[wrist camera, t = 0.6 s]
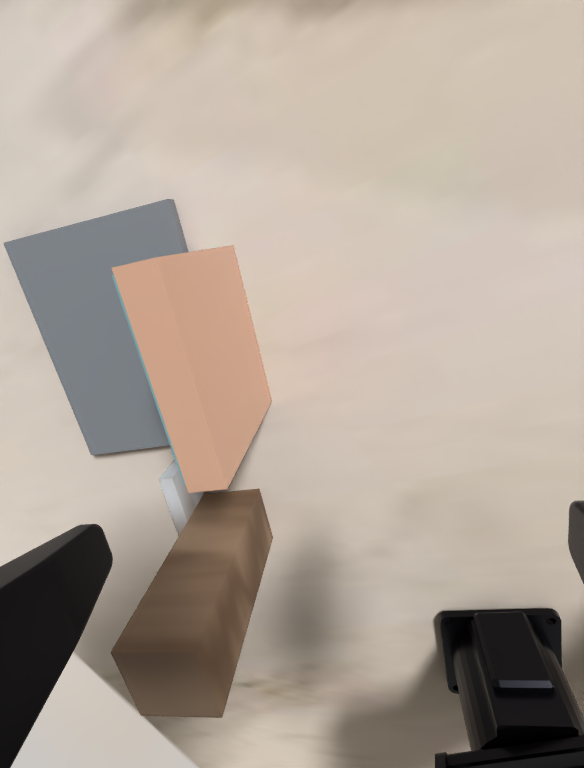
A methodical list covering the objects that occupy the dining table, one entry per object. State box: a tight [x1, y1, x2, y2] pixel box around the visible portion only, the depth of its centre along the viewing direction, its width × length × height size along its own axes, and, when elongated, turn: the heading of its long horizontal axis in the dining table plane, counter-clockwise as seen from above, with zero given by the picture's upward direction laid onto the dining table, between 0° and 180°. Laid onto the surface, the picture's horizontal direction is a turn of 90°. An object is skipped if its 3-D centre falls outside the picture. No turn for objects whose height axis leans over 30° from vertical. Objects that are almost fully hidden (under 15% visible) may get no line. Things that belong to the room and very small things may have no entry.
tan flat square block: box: [112, 245, 272, 493], centre depth 17 cm, size 8×2×8 cm, turn 12°
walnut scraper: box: [111, 460, 273, 718], centre depth 21 cm, size 9×4×10 cm, turn 12°
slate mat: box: [4, 199, 188, 455], centre depth 22 cm, size 12×9×1 cm
